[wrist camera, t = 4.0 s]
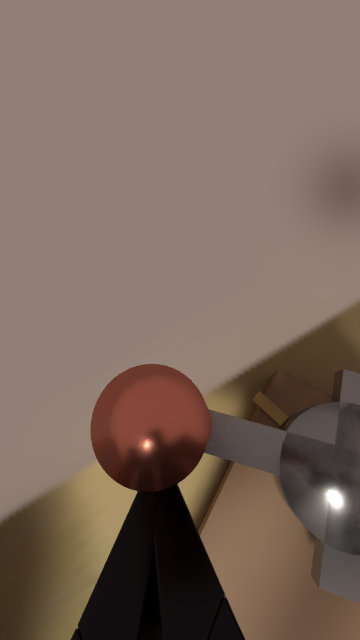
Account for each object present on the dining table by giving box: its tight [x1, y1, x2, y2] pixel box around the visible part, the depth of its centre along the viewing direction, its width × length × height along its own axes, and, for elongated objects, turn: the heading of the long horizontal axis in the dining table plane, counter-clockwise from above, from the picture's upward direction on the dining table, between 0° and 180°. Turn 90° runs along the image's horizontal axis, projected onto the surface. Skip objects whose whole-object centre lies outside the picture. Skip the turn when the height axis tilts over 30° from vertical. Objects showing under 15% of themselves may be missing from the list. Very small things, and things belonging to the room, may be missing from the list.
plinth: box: [198, 370, 360, 640], centre depth 13 cm, size 12×13×4 cm
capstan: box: [91, 364, 360, 603], centre depth 10 cm, size 12×8×10 cm
